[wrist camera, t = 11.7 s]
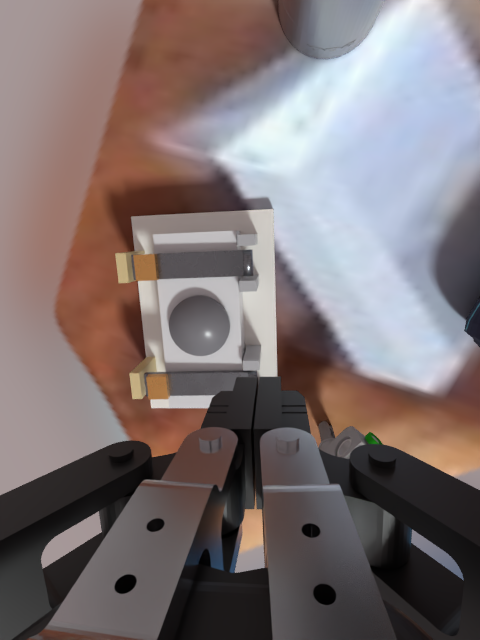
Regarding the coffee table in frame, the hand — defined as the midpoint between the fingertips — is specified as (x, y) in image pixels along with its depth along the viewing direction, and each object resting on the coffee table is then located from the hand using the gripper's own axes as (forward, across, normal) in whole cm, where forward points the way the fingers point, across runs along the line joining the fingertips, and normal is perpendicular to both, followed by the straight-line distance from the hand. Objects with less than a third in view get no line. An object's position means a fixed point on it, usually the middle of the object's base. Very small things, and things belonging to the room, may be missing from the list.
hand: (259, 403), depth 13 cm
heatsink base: (+29, +7, +3) cm, 30 cm away
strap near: (+24, +7, -3) cm, 25 cm away
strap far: (+24, +7, +9) cm, 26 cm away
